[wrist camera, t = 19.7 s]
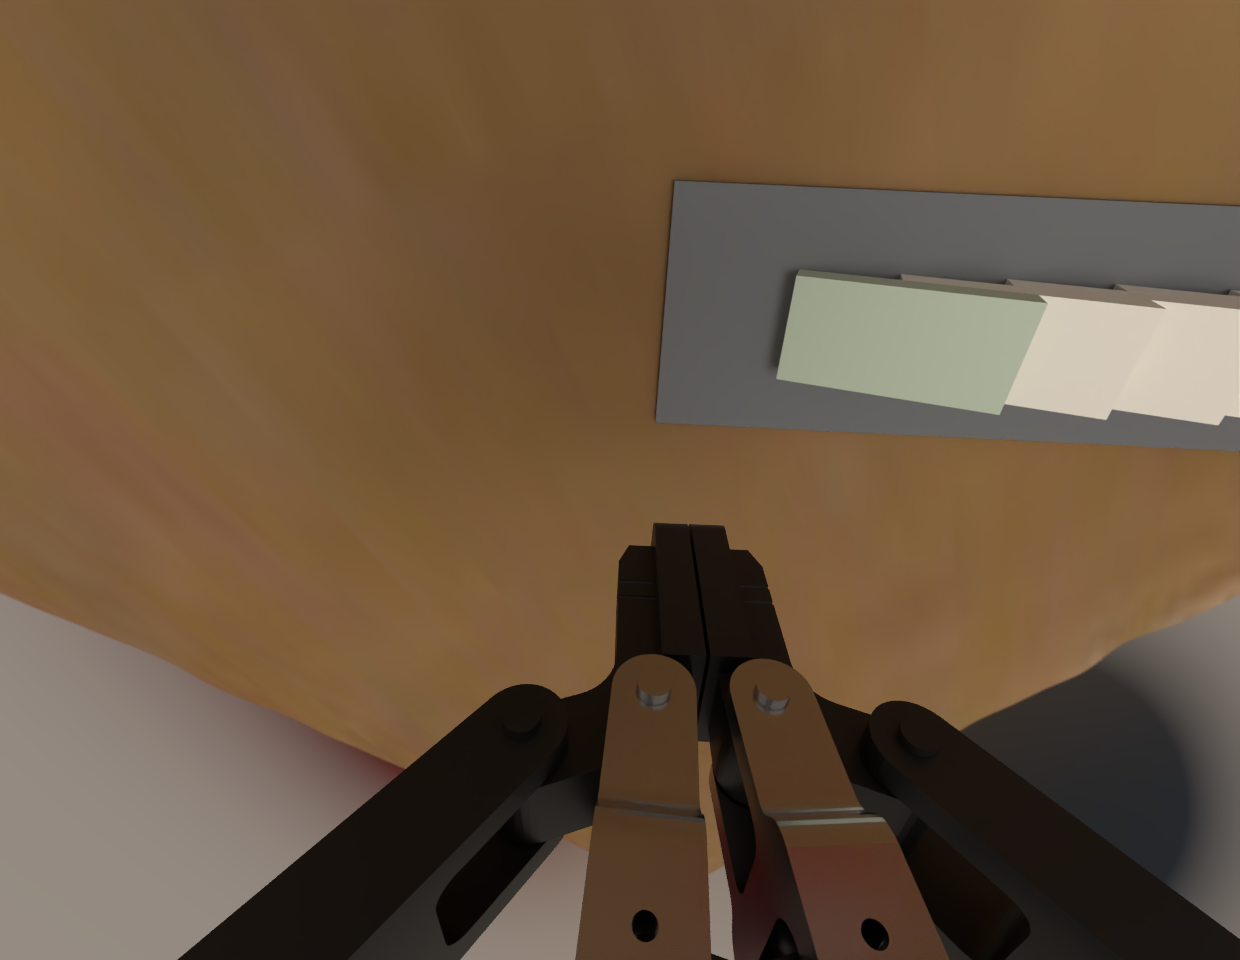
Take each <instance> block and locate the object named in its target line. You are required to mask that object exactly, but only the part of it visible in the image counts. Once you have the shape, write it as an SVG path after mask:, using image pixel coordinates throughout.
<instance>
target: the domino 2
mask: <svg viewBox="0 0 1240 960" xmlns="http://www.w3.org/2000/svg"><path fill="white" fill-rule="evenodd" d="M899 280H905V281H915V282H924V283H933V284H943V285H952V286H961V287H971V288H980V289H990V290H999V291H1008V292H1018V293H1027V294H1036V295H1039V296H1040V297H1041V298H1042V299H1044V300H1045V301H1046V302H1047V303H1048V304H1047V307H1046V309H1045V311H1044V314H1043V316H1042V318H1041V321H1040V323H1039V325H1038V328H1037V330H1036V332H1035V334H1034V337H1033V339H1032V341H1031V344H1030V346H1029V348H1028V351H1027V353H1026V355H1025V358H1024V360H1023V362H1022V364H1021V367H1020V369H1019V371H1018V374H1017V376H1016V378H1015V381H1014V383H1013V385H1012V388H1011V390H1010V392H1009V394H1008V397H1007V399H1006V401H1005V404H1007V405H1014V406H1020V407H1026V408H1033V409H1039V410H1045V411H1052V412H1058V413H1065V414H1071V415H1077V416H1084V417H1090V418H1096V419H1103V420H1107V418H1108V416H1109V414H1110V412H1111V410H1112V409H1113V407H1114V405H1115V403H1116V401H1117V399H1118V398H1119V396H1120V394H1121V392H1122V390H1123V389H1124V387H1125V385H1126V383H1127V381H1128V379H1129V378H1130V376H1131V374H1132V372H1133V370H1134V368H1135V367H1136V365H1137V363H1138V361H1139V359H1140V357H1141V356H1142V354H1143V352H1144V350H1145V348H1146V347H1147V345H1148V343H1149V341H1150V339H1151V337H1152V336H1153V334H1154V332H1155V330H1156V328H1157V326H1158V325H1159V323H1160V321H1161V319H1162V317H1163V315H1164V314H1165V312H1166V310H1167V309H1166V308H1164V307H1162V306H1161V305H1159V304H1157V303H1155V302H1153V301H1152V300H1145V299H1135V298H1126V297H1116V296H1107V295H1097V294H1088V293H1078V292H1069V291H1059V290H1050V289H1040V288H1031V287H1021V286H1012V285H1002V284H993V283H983V282H974V281H964V280H955V279H945V278H936V277H926V276H917V275H907V274H901V276H900V279H899Z"/></svg>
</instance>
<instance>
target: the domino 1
mask: <svg viewBox="0 0 1240 960" xmlns="http://www.w3.org/2000/svg"><path fill="white" fill-rule="evenodd" d="M1047 304H1048V303H1047V302H1046V301H1045V300H1044V299H1042V298H1041V297H1040V296H1039V295H1036V294H1027V293H1018V292H1008V291H999V290H990V289H980V288H971V287H961V286H952V285H943V284H933V283H924V282H915V281H905V280H896V279H887V278H877V277H868V276H859V275H849V274H840V273H831V272H821V271H812V270H803V269H799V271H798V273H797V275H796V280H795V285H794V291H793V296H792V301H791V306H790V311H789V316H788V321H787V326H786V331H785V337H784V342H783V347H782V352H781V357H780V362H779V367H778V372H777V378H776V379H779V380H785V381H791V382H798V383H804V384H810V385H816V386H822V387H829V388H835V389H841V390H847V391H853V392H860V393H866V394H872V395H878V396H884V397H891V398H897V399H903V400H909V401H915V402H922V403H928V404H934V405H940V406H946V407H953V408H959V409H965V410H971V411H977V412H984V413H990V414H996V415H1000V413H1001V411H1002V408H1003V406H1004V404H1005V401H1006V399H1007V397H1008V394H1009V392H1010V390H1011V388H1012V385H1013V383H1014V381H1015V378H1016V376H1017V374H1018V371H1019V369H1020V367H1021V364H1022V362H1023V360H1024V358H1025V355H1026V353H1027V351H1028V348H1029V346H1030V344H1031V341H1032V339H1033V337H1034V334H1035V332H1036V330H1037V328H1038V325H1039V323H1040V321H1041V318H1042V316H1043V314H1044V311H1045V309H1046V307H1047Z"/></svg>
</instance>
